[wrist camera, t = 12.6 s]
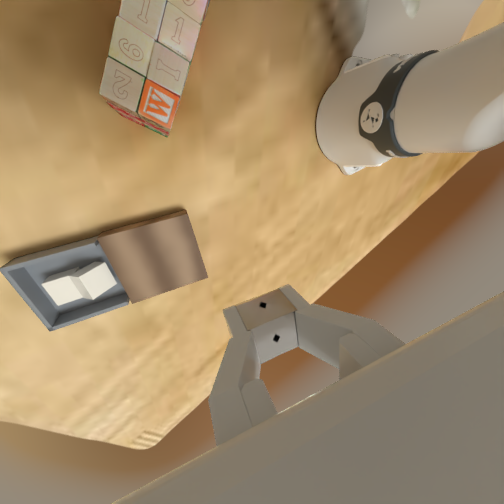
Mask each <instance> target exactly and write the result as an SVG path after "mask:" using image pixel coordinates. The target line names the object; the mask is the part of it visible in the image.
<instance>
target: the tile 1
mask: <svg viewBox="0 0 504 504" xmlns="http://www.w3.org/2000/svg"><path fill="white" fill-rule="evenodd" d="M78 270H80V268H79V267H77V268H74V269H70V270H67V271H64V272H60V273H57V274H54V275H51V276H49V277H48V278H47V279H46V280H45V281H44V282H43V283H42V284H41V285H42V286H43V287H44V288H45V290H46V291H47V292H48V294H49V295H50V296H51V298H52V299H53V300H54V302H55V303H56V304H57V305H58V306H59V305H62V304H65V303H68V302H71V301H74V300H77V299H80V298H83V297H82V295H81V294H80V292H79V291H78V289H77V288H76V286H75V285H74V283H73V282H72V280H71V279H70V277H69V275H71V274H73V273H75V272H77V271H78Z"/></svg>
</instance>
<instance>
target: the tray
mask: <svg viewBox="0 0 504 504" xmlns="http://www.w3.org/2000/svg"><path fill="white" fill-rule="evenodd" d="M97 237H98V236H96V237H92V238H89V239H85V240H81V241H77V242H74V243H70V244H66V245H62V246H59V247H55V248H51V249H47V250H44V251H40V252H36V253H32V254H29V255H25V256H21V257H17V258H14V259H13V260H11V261H10V262H8V263H7V264H5V265H4V266H2V267H1V268H0V272H1V273H2V274H3V275H4V276H5V278H6V279H7V280H8V281H9V282H10V284H11V285H12V286H13V287H14V289H15V290H16V291H17V292H18V293H19V295H20V296H21V297H22V298H23V300H24V301H25V302H26V303H27V304H28V306H29V307H30V308H31V309H32V310H33V312H34V313H35V314H36V315H37V317H38V318H39V319H40V320H41V321H42V323H43V324H44V325H45V326H46V327H47V329H48V330H49V331H53V330H56V329H59V328H62V327H65V326H68V325H71V324H74V323H76V322H79V321H82V320H85V319H88V318H91V317H94V316H97V315H100V314H102V313H105V312H108V311H111V310H114V309H117V308H120V307H123V306H126V305H128V304H129V300H130V299H129V297H128V295H127V293H126V291H125V289H124V288H123V286H122V284H121V282H120V280H119V278H118V277H117V275H116V273H115V271H114V269H113V267H112V266H111V264H110V262H109V260H108V258H107V256H106V255H105V253H104V251H103V249H102V247H101V245H100V244H99V242H98V240H97ZM95 261H96V262H105V263H106V265H107V267H108V268H109V270H110V272H111V274H112V275H113V277H114V279H115V281H116V283H117V284H116V285H114V286H113V287H111V288H110V289H108V290H107V291H105V292H104V293H102V294H101V295H100V296H98V297H97V298H95V299H94V300H92V299H86V298H80V299H77V300H74V301H71V302H68V303H65V304H62V305H59V306H58V305H57V304H56V303H55V302H54V300H53V299H52V298H51V296H50V295H49V294H48V292H47V291H46V290H45V288H44V287H43V286H42V285H41V284H42V283H43V282H44V281H45V280H46V279H47V278H48V277H49V276H51V275H54V274H57V273H60V272H64V271H67V270H70V269H74V268H77V267H79V268H80V269H82V268H84V267H86V266H88V265H89V264H91V263H93V262H95Z"/></svg>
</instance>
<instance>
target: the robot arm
mask: <svg viewBox="0 0 504 504" xmlns="http://www.w3.org/2000/svg"><path fill="white" fill-rule="evenodd" d="M356 66H357V67H356ZM316 133H317V139H318V143H319V145H320V148H321V150H322V152H323V153H324V155H325V156H326V157H327V158H328V159H329V160H331V161H332V162H334V163H336V164H337V165H338V166H339V167H340V169H341V171H342V172H343V173H344V174H345V175H351V174H353V173H355V172H357V171H359V170H361V169H363V168H365V167H374V166H381V165H382V163H384V162H387V161H388V160H390V159H391V158H393V157H397V158H406V157H410V156H418V155H420V154H422V153H456V152H476V151H480V150H483V149H486V148H489V147H492V146H494V145H497V144H498V143H501V142H503V141H504V22H502V23H501V24H499V25H496V26H494V27H492V28H490V29H488V30H486V31H484V32H482V33H480V34H478V35H476V36H473V37H471V38H469V39H467V40H465V41H462V42H460V43H458V44H455V45H453V46H451V47H449V48H446V49H443V50H441V51H438V50H431V51H428V52H425V53H420V54H417V55H414V56H413V55H412V54H407V55H403V56H400V57H399V54H393V55H384V56H382V57H379V58H377V59H374V60H370V59H365V58H360V57H355V56H353V57H350V58H348V59H346V60H345V62H344V64H343V66H342V68H341V71H340V73H339V76H338V77H337V79H336V80H335V81H334V82H333V84H332V85H331V86H330V87H329V88H328V90H327V91H326V93H325V94H324V96H323V98H322V101H321V103H320V106H319V109H318V113H317V120H316ZM353 167H354V168H353ZM223 313H224V317H225V320H226V323H227V326H228V330H229V333H230V336H231V339H229V342H228V345H227V348H226V351H225V354H224V357H223V360H222V362H221V365H220V368H219V371H218V374H217V377H216V380H215V383H214V385H213V388H212V391H211V394H210V397H209V400H208V401H209V406H210V412H211V417H212V423H213V429H214V434H215V439H216V445H217V447H215V448H213V449H212V450H210V451H208V452H206V453H204V454H202V455H200V456H198V457H197V458H195V459H193V460H191V461H189V462H187V463H185V464H184V465H182V466H180V467H178V468H176V469H174V470H173V471H171V472H169V473H167V474H165V475H163V476H161V477H160V478H158V479H156V480H154V481H152V482H150V483H149V484H147V485H145V486H143V487H141V488H139V489H138V490H136V491H134V492H132V493H130V494H128V495H126V496H125V497H123V498H121V499H119V500H117V501H115V502H114V503H111V504H504V291H503V292H502V293H500V294H498V295H496V296H494V297H492V298H491V299H489V300H487V301H485V302H483V303H481V304H480V305H478V306H476V307H474V308H472V309H470V310H468V311H466V312H465V313H463V314H461V315H459V316H457V317H455V318H454V319H452V320H450V321H448V322H446V323H444V324H442V325H441V326H439V327H437V328H435V329H433V330H431V331H429V332H428V333H426V334H424V335H422V336H420V337H418V338H417V339H415V340H413V341H411V342H409V343H407V344H405V343H404V342H402V341H401V340H400V339H398V338H397V337H396V336H394V335H393V334H392V333H391V332H389V331H388V330H387V329H385V328H384V327H383V326H381V325H380V324H379V323H377V322H376V321H375V320H372V319H368V318H364V317H361V316H357V315H353V314H350V313H346V312H342V311H339V310H335V309H331V308H328V307H324V306H320V305H316V304H311V305H310V304H309V303H308V302H307V301H306V300H305V299H304V298H303V297H302V296H301V295H300V294H299V293H298V292H297V291H296V290H295V289H294V288H293V287H291V286H290V285H289V284H287V285H285V286H282V287H280V288H278V289H276V290H273V291H271V292H268V293H266V294H263V295H261V296H258V297H255V298H252V299H250V300H247V301H244V302H241V303H239V304H236V305H235V306H234V305H233V306H231V307H228V308H225V309H223ZM298 346H299V348H301V349H303V350H305V351H307V352H308V353H310V354H313V355H314V356H316V357H318V358H320V359H321V360H323V361H325V362H327V363H329V364H331V365H332V366H335V367H336V368H338V369H339V381H337V382H335V383H334V384H332V385H330V386H328V387H326V388H324V389H323V390H320V391H319V392H317V393H315V394H313V395H311V396H309V397H308V398H306V399H304V400H302V401H300V402H298V403H297V404H295V405H293V406H291V407H289V408H287V409H285V410H284V411H282V412H280V413H277V411H276V408H275V406H274V404H273V402H272V400H271V397H270V395H269V393H268V391H267V389H266V387H265V385H264V382H263V380H261V379H259V375H260V367H261V365H260V364H262V363H264V362H266V361H268V360H270V359H272V358H274V357H276V356H278V355H280V354H282V353H285V352H287V351H289V350H292V349H294V348H296V347H298Z"/></svg>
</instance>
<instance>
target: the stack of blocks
mask: <svg viewBox="0 0 504 504" xmlns="http://www.w3.org/2000/svg"><path fill="white" fill-rule="evenodd" d="M209 3H210V0H121V4H120V9H119V15H118V16H116V20H115V24H114V29H113V34H112V38H111V43H110V47H109V52H108V57H107V59H106V63H105V67H104V71H103V76H102V80H101V84H100V89H99V94H100V95H101V96H102V97H103V98H104V99H105V100H107V103H108V104H109V105H110V106H111V107H112V108H114V109H115V110H116V111H117V112H118V113H119V114H120V115H121V116H123V117H125V118H128V119H130V120H132V121H134V122H136V123H138V124H140V125H142V126H144V127H147V128H149V129H151V130H153V131H155V132H157V133H159V134H161V135H163V136H165V137H168V136H169V133H170V130H171V127H172V124H173V120H174V117H175V115H176V112H177V109H178V106H179V102H180V99H181V96H182V92H183V89H184V86H185V83H186V79H187V76H188V73H189V69H190V65H191V61H192V58H193V55H194V51H195V48H196V43H197V40H198V36H199V32H200V29H201V25H202V21H204V19H205V16H206V12H207V9H208V6H209Z"/></svg>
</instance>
